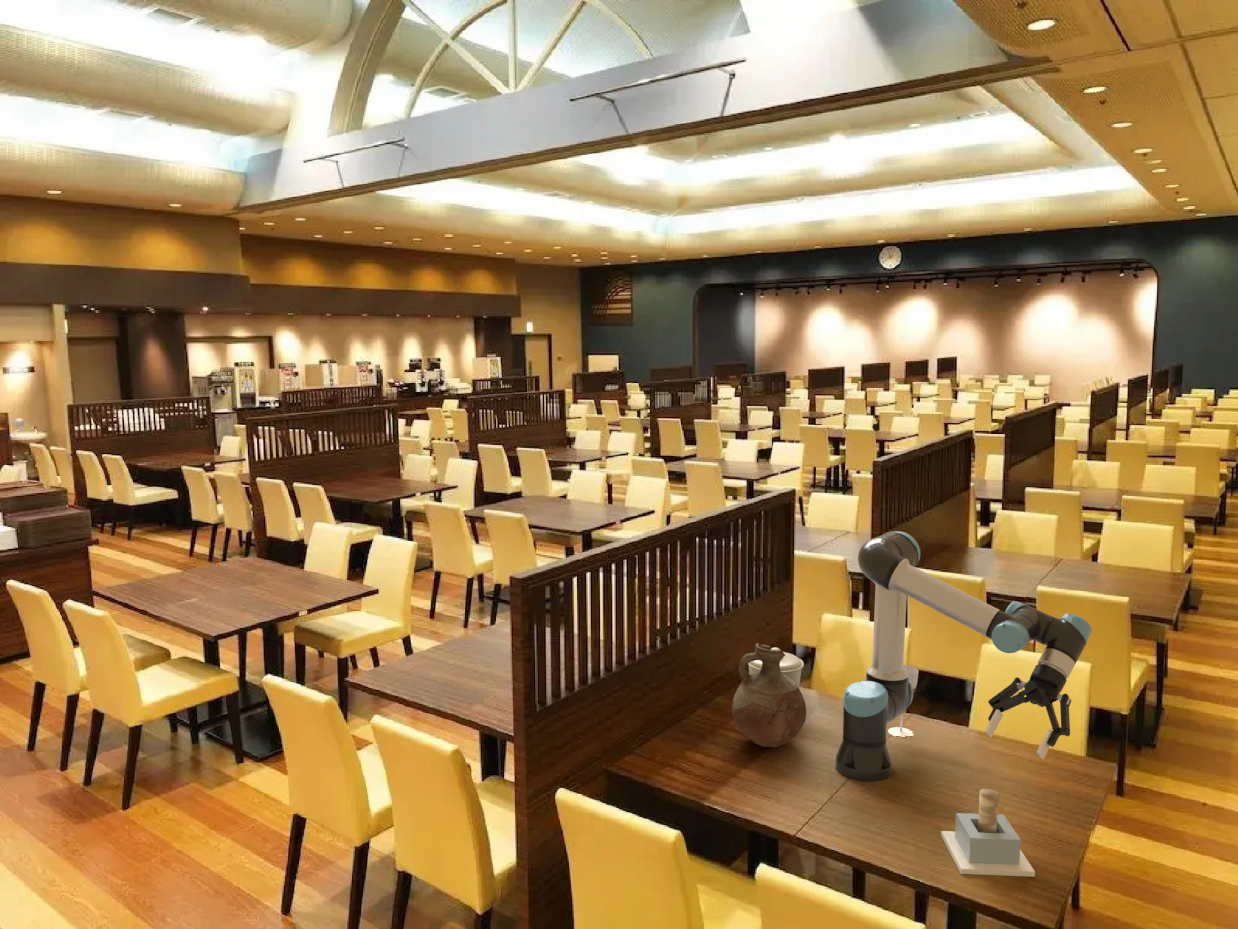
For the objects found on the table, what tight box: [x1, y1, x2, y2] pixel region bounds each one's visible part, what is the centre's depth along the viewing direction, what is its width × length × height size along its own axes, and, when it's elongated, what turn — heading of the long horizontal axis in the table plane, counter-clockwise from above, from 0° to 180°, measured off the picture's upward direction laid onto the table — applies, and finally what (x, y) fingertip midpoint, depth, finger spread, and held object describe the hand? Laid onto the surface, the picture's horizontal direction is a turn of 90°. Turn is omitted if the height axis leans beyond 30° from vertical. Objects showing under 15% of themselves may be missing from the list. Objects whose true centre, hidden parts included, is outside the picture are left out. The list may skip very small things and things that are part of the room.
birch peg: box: [978, 788, 999, 833], centre depth 208 cm, size 4×4×14 cm
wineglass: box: [887, 664, 919, 738], centre depth 275 cm, size 8×9×20 cm
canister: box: [747, 646, 805, 688], centre depth 291 cm, size 18×18×21 cm
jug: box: [731, 642, 807, 748], centre depth 267 cm, size 22×22×30 cm
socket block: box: [940, 812, 1036, 877], centre depth 209 cm, size 16×16×7 cm
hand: (1013, 745), depth 218 cm, fingers open, 13 cm apart
